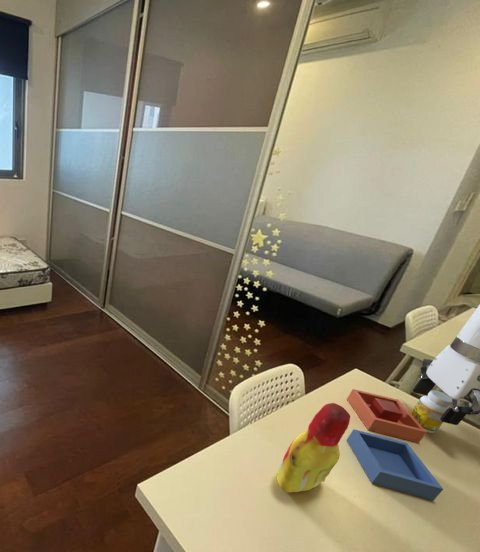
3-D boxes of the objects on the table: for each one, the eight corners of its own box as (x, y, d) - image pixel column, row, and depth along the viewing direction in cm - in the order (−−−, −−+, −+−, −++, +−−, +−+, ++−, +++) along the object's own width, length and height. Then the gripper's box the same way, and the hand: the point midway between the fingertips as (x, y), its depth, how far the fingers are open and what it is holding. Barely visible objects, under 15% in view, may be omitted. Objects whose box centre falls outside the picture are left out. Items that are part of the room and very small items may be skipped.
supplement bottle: (439, 437, 78) (462, 408, 74) (411, 427, 80) (432, 398, 76) (429, 421, 82) (451, 393, 78) (403, 412, 84) (422, 384, 80)
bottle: (289, 506, 59) (336, 429, 50) (260, 474, 64) (298, 400, 56) (330, 486, 63) (379, 412, 55) (299, 457, 68) (340, 386, 60)
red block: (385, 413, 82) (393, 402, 81) (394, 425, 79) (403, 414, 77) (367, 409, 83) (375, 397, 81) (376, 421, 80) (384, 409, 78)
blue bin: (399, 453, 72) (407, 442, 70) (433, 500, 63) (443, 489, 61) (346, 439, 74) (353, 428, 73) (371, 483, 65) (380, 471, 63)
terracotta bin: (391, 409, 85) (398, 399, 83) (418, 443, 75) (427, 432, 74) (346, 398, 87) (352, 388, 85) (367, 430, 77) (375, 419, 76)
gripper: (535, 381, 63) (481, 441, 70) (464, 334, 78) (425, 387, 86) (489, 371, 65) (441, 431, 72) (428, 327, 80) (393, 379, 87)
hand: (432, 407), depth 79 cm, fingers open, 9 cm apart
